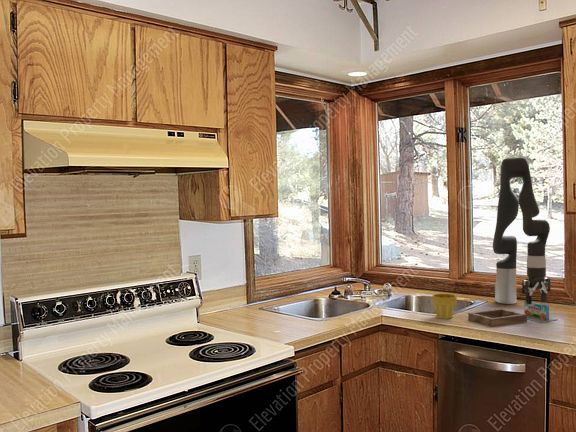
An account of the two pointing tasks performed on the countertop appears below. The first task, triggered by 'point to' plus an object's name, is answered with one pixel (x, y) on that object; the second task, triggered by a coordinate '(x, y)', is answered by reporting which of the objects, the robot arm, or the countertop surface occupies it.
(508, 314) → the tray
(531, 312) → the snack box
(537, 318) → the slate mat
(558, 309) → the countertop surface
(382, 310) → the countertop surface
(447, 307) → the plant pot
